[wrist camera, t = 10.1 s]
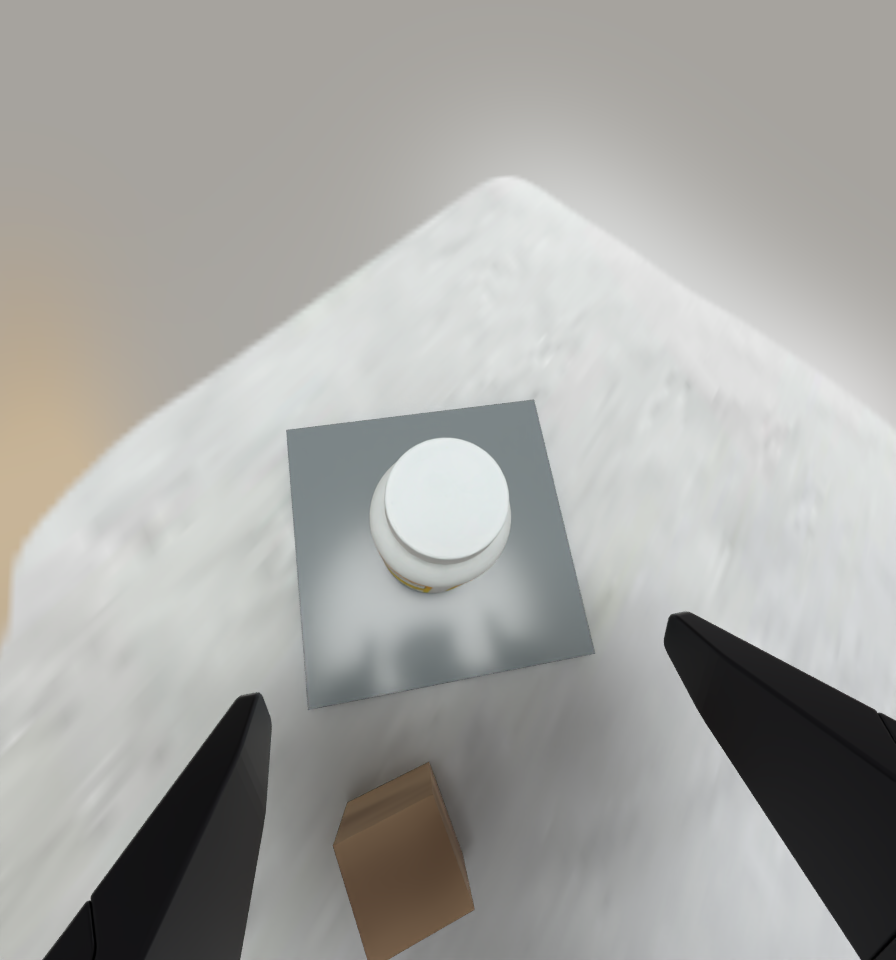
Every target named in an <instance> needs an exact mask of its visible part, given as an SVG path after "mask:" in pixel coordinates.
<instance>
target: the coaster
mask: <svg viewBox="0 0 896 960" xmlns="http://www.w3.org/2000/svg"><path fill="white" fill-rule="evenodd" d="M286 432H287V445H288V458H289V471H290V484H291V497H292V509H293V522H294V535H295V548H296V561H297V574H298V586H299V599H300V612H301V625H302V638H303V651H304V663H305V676H306V689H307V702H308V710H310V709H315V708H320V707H325V706H331V705H336V704H341V703H346V702H351V701H356V700H361V699H366V698H371V697H376V696H381V695H387V694H392V693H397V692H402V691H407V690H412V689H417V688H422V687H427V686H432V685H437V684H443V683H448V682H453V681H458V680H463V679H468V678H473V677H478V676H483V675H488V674H494V673H499V672H504V671H509V670H514V669H519V668H524V667H529V666H534V665H539V664H544V663H550V662H555V661H560V660H565V659H570V658H575V657H580V656H585V655H590V654H595V651H594V647H593V643H592V639H591V635H590V631H589V626H588V622H587V618H586V614H585V610H584V606H583V602H582V597H581V593H580V589H579V585H578V581H577V577H576V572H575V568H574V564H573V560H572V556H571V552H570V547H569V543H568V539H567V535H566V531H565V527H564V522H563V518H562V514H561V510H560V506H559V502H558V497H557V493H556V489H555V485H554V481H553V477H552V472H551V468H550V464H549V460H548V456H547V452H546V447H545V443H544V439H543V435H542V431H541V427H540V423H539V418H538V414H537V410H536V406H535V402H534V400H527V401H519V402H511V403H502V404H494V405H486V406H478V407H470V408H462V409H453V410H445V411H437V412H429V413H421V414H413V415H405V416H396V417H388V418H380V419H372V420H364V421H356V422H347V423H339V424H331V425H323V426H315V427H307V428H299V429H290V430H286ZM436 438H456V439H461V440H464V441H468V442H470V443H473V444H475V445H476V446H478V447H480V448H481V449H483V450H484V451H486V452H487V453H488V454H489V455H490V456H491V457H492V458H493V459H494V460H495V461H496V463H497V464H498V466H499V467H500V469H501V471H502V473H503V475H504V477H505V479H506V483H507V486H508V491H509V503H510V509H511V526H510V532H509V536H508V539H507V542H506V544H505V547H504V549H503V551H502V552H501V554H500V556H499V557H498V558H497V560H496V561H495V562H494V563H493V564H492V566H491V567H490V568H489V569H487V570H486V571H485V572H484V573H483V574H481V575H480V576H478V577H477V578H475V579H473V580H471V581H469V582H467V583H464V584H462V585H460V586H458V587H456V588H454V589H451V590H448V591H445V592H440V593H424V592H419V591H416V590H413V589H411V588H409V587H407V586H405V585H403V584H402V583H401V582H399V581H398V580H397V579H396V578H395V577H394V576H393V575H392V574H391V573H390V571H389V570H388V569H387V567H386V565H385V563H384V561H383V559H382V558H381V556H380V554H379V552H378V550H377V548H376V545H375V543H374V540H373V537H372V533H371V528H370V506H371V501H372V497H373V494H374V491H375V489H376V487H377V485H378V483H379V481H380V480H381V478H382V477H383V475H384V474H385V473H386V472H387V470H388V469H389V468H390V467H391V466H392V465H393V464H395V463H396V462H397V461H398V459H399V458H400V457H401V456H402V455H403V454H404V453H405V452H407V451H408V450H409V449H411V448H412V447H414V446H416V445H417V444H419V443H422V442H424V441H427V440H431V439H436Z"/></svg>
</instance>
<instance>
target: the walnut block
mask: <svg viewBox="0 0 896 960" xmlns="http://www.w3.org/2000/svg"><path fill="white" fill-rule="evenodd" d="M333 848H334V851H335V855H336V858H337V861H338V864H339V868H340V871H341V874H342V878H343V881H344V884H345V887H346V891H347V894H348V897H349V901H350V904H351V907H352V910H353V914H354V917H355V920H356V924H357V927H358V930H359V933H360V937H361V940H362V943H363V947H364V950H365V953H366V956H367V960H388V959H390V958H392V957H393V956H395V955H397V954H399V953H400V952H402V951H404V950H406V949H407V948H409V947H411V946H412V945H414V944H416V943H418V942H419V941H421V940H423V939H425V938H426V937H428V936H430V935H432V934H433V933H435V932H437V931H438V930H440V929H442V928H444V927H445V926H447V925H449V924H451V923H452V922H454V921H456V920H457V919H459V918H461V917H463V916H464V915H466V914H468V913H470V912H471V911H473V910H475V909H474V904H473V900H472V895H471V890H470V886H469V881H468V876H467V872H466V867H465V862H464V858H463V853H462V851H461V848H460V845H459V842H458V840H457V837H456V834H455V831H454V829H453V826H452V823H451V821H450V818H449V815H448V812H447V810H446V807H445V804H444V801H443V799H442V796H441V793H440V790H439V788H438V785H437V782H436V779H435V777H434V774H433V771H432V768H431V766H430V763H429V762H427V763H425V764H423V765H422V766H420V767H418V768H416V769H414V770H412V771H410V772H408V773H406V774H404V775H402V776H400V777H398V778H396V779H394V780H392V781H390V782H388V783H386V784H384V785H382V786H380V787H378V788H376V789H374V790H372V791H370V792H368V793H366V794H364V795H362V796H360V797H358V798H356V799H354V800H352V801H350V802H348V803H347V805H346V808H345V811H344V814H343V817H342V820H341V823H340V826H339V829H338V832H337V835H336V838H335V841H334V844H333Z"/></svg>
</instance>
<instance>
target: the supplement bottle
mask: <svg viewBox="0 0 896 960" xmlns="http://www.w3.org/2000/svg"><path fill="white" fill-rule="evenodd" d="M510 526H511V509H510V503H509V491H508V486H507V483H506V479H505V477H504V475H503V473H502V471H501V469H500V467H499V466H498V464H497V463H496V461H495V460H494V459H493V458H492V457H491V456H490V455H489V454H488V453H487V452H486V451H484V450H483V449H481V448H480V447H478V446H476V445H475V444H473V443H470V442H468V441H464V440H461V439H456V438H436V439H431V440H427V441H424V442H422V443H419V444H417V445H416V446H414V447H412V448H411V449H409V450H408V451H407V452H405V453H404V454H403V455H402V456H401V457H400V458H399V459H398V461H397V462H396V463H395V464H393V465H392V466H391V467H390V468H389V469H388V470H387V472H386V473H385V474H384V475H383V477H382V478H381V480H380V481H379V483H378V485H377V487H376V489H375V491H374V494H373V497H372V501H371V506H370V528H371V533H372V537H373V540H374V543H375V545H376V548H377V550H378V552H379V554H380V556H381V558H382V559H383V561H384V563H385V565H386V567H387V569H388V570H389V571H390V573H391V574H392V575H393V576H394V577H395V578H396V579H397V580H398V581H399V582H401V583H402V584H403V585H405V586H407V587H409V588H411V589H413V590H416V591H419V592H424V593H440V592H445V591H448V590H451V589H454V588H456V587H458V586H460V585H462V584H464V583H467V582H469V581H471V580H473V579H475V578H477V577H478V576H480V575H481V574H483V573H484V572H485V571H486V570H487V569H489V568H490V567H491V566H492V564H493V563H494V562H495V561H496V560H497V558H498V557H499V556H500V554H501V552H502V551H503V549H504V547H505V544H506V542H507V539H508V536H509V532H510Z"/></svg>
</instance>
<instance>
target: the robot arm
mask: <svg viewBox="0 0 896 960" xmlns="http://www.w3.org/2000/svg"><path fill="white" fill-rule="evenodd" d="M664 646H665V649H666V651H667V653H668V655H669V657H670V659H671V661H672V663H673V665H674V667H675V668H676V670H677V672H678V674H679V676H680V678H681V680H682V682H683V684H684V685H685V687H686V689H687V691H688V693H689V695H690V697H691V699H692V700H693V702H694V704H695V706H696V708H697V709H698V711H699V713H700V715H701V716H702V718H703V720H704V721H705V723H706V724H707V726H708V727H709V729H710V730H711V732H712V733H713V735H714V737H715V738H716V740H717V741H718V743H719V744H720V746H721V747H722V749H723V750H724V752H725V753H726V755H727V756H728V758H729V759H730V761H731V762H732V764H733V765H734V767H735V769H736V770H737V772H738V773H739V775H740V776H741V778H742V779H743V781H744V782H745V784H746V785H747V787H748V788H749V790H750V791H751V793H752V794H753V796H754V797H755V799H756V801H757V802H758V804H759V805H760V807H761V808H762V810H763V811H764V813H765V814H766V816H767V817H768V819H769V820H770V822H771V823H772V825H773V826H774V828H775V829H776V831H777V833H778V834H779V836H780V837H781V839H782V840H783V842H784V843H785V845H786V846H787V848H788V849H789V851H790V852H791V854H792V855H793V857H794V858H795V860H796V861H797V863H798V865H799V866H800V868H801V869H802V871H803V872H804V874H805V875H806V877H807V878H808V880H809V881H810V883H811V884H812V886H813V887H814V889H815V890H816V892H817V893H818V895H819V897H820V898H821V900H822V901H823V903H824V904H825V906H826V907H827V909H828V910H829V912H830V913H831V915H832V916H833V918H834V919H835V921H836V922H837V924H838V925H839V927H840V929H841V930H842V932H843V933H844V935H845V936H846V938H847V939H848V941H849V942H850V944H851V945H852V947H853V948H854V950H855V951H856V953H857V954H858V956H859V957H860V959H861V960H896V720H894V719H892V718H890V717H888V716H886V715H884V714H882V713H877V711H876V710H875V709H873V708H871V707H869V706H867V705H865V704H863V703H861V702H859V701H858V700H856V699H854V698H852V697H850V696H848V695H846V694H844V693H842V692H841V691H839V690H837V689H835V688H833V687H831V686H829V685H827V684H825V683H823V682H822V681H820V680H818V679H816V678H814V677H812V676H810V675H808V674H806V673H805V672H803V671H801V670H799V669H797V668H795V667H793V666H791V665H789V664H787V663H786V662H784V661H782V660H780V659H778V658H776V657H774V656H772V655H770V654H769V653H767V652H765V651H763V650H761V649H759V648H757V647H755V646H753V645H751V644H750V643H748V642H746V641H744V640H742V639H740V638H738V637H736V636H734V635H733V634H731V633H729V632H727V631H725V630H723V629H721V628H719V627H717V626H716V625H714V624H712V623H710V622H708V621H706V620H704V619H702V618H700V617H698V616H697V615H695V614H693V613H690V612H680V613H675V614H671V615H670V617H669V619H668V623H667V627H666V632H665V636H664ZM271 730H272V725H271V718H270V715H269V712H268V710H267V707H266V704H265V701H264V699H263V696H262V694H261V693H257V692H256V693H251V694H246V695H241V696H239V697H238V698H237V699H236V700H235V701H234V703H233V704H232V705H231V707H230V708H229V710H228V711H227V712H226V714H225V715H224V716H223V718H222V719H221V720H220V722H219V723H218V724H217V726H216V727H215V728H214V730H213V731H212V732H211V734H210V735H209V737H208V738H207V739H206V741H205V742H204V743H203V745H202V746H201V747H200V749H199V750H198V751H197V753H196V754H195V755H194V757H193V758H192V760H191V761H190V762H189V764H188V765H187V766H186V768H185V769H184V770H183V772H182V773H181V774H180V776H179V777H178V778H177V780H176V781H175V783H174V784H173V785H172V787H171V788H170V789H169V791H168V792H167V793H166V795H165V796H164V797H163V799H162V800H161V801H160V803H159V804H158V806H157V807H156V808H155V810H154V811H153V812H152V814H151V815H150V816H149V818H148V819H147V820H146V822H145V823H144V824H143V826H142V827H141V828H140V830H139V831H138V833H137V834H136V835H135V837H134V838H133V839H132V841H131V842H130V843H129V845H128V846H127V847H126V849H125V850H124V851H123V853H122V854H121V856H120V857H119V858H118V860H117V861H116V862H115V864H114V865H113V866H112V868H111V869H110V870H109V872H108V873H107V874H106V876H105V877H104V879H103V880H102V881H101V883H100V884H99V885H98V887H97V888H96V889H95V891H94V892H93V893H92V895H91V901H90V900H89V901H87V902H86V903H85V904H84V905H83V907H82V908H81V909H80V911H79V912H78V913H77V915H76V916H75V917H74V919H73V920H72V921H71V923H70V924H69V926H68V927H67V928H66V930H65V931H64V932H63V934H62V935H61V936H60V937H59V939H58V940H57V941H56V943H55V944H54V945H53V947H52V948H51V949H50V951H49V952H48V953H47V954H46V956H45V957H44V958H43V960H240V958H241V952H242V946H243V940H244V935H245V929H246V923H247V918H248V912H249V906H250V900H251V895H252V889H253V883H254V877H255V872H256V866H257V860H258V855H259V849H260V843H261V837H262V832H263V826H264V819H265V812H266V801H267V788H268V773H269V759H270V745H271Z"/></svg>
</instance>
